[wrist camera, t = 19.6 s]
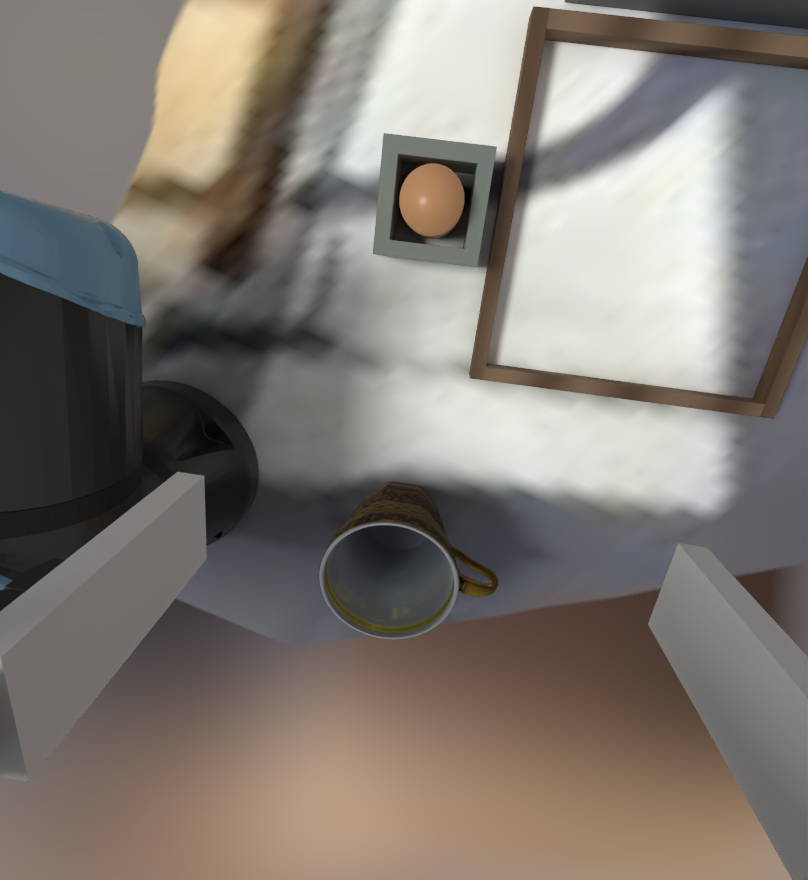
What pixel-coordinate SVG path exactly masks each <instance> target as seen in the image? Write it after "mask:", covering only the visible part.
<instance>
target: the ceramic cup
mask: <svg viewBox="0 0 808 880" xmlns="http://www.w3.org/2000/svg"><path fill="white" fill-rule="evenodd" d="M454 556H455V557H457V558H458V559H460V560H461V561H462V562H463V563H465V564H466V565H468V566H469V567H471V568H473V569H474V570H476V571H478V572H480V573H482V574H483V575H485V576H486V577H488V578H489V579H490V580H491V581H492V584H485V583H481V582H478V581H475V580H473V579H470V578H468V577H465V576H464V575H462V574H461V573H460V571H459V570H458V568H457V565H456V561H455V557H454ZM319 582H320V588H321V591H322V594H323V597H324V599H325V601H326V603H327V605H328V606H329V607H330V609H331V610H332V611H333V613H334V614H335V615H336V616H337V617H338V618H339V619H340V620H341V621H343V622H344V623H345V624H347V625H348V626H350V627H351V628H353V629H355V630H357V631H359V632H361V633H364V634H366V635H370V636H373V637H377V638H383V639H405V638H410V637H414V636H418V635H420V634H423V633H426V632H428V631H430V630H431V629H433V628H435V627H436V626H437V625H439V624H440V623H441V622H442V621H443V620H444V619H445V618H446V617H447V616H448V615H449V613H450V612H451V610H452V609H453V607H454V605H455V603H456V600H457V597H458V592H459V591H461V592H462V593H464V594H467V595H470V596H475V597H484V596H488V595H491V594H492V593H493V592H494V591H495V590H496V588H497V586H498V579H497V577H496V575H495V574H494V573H493V572H492V571H491V570H489V569H488V568H486V567H485V566H483V565H481V564H479V563H477V562H475V561H474V560H472V559H470V558H469V557H467V556H466V555H465V554H464V553H462V552H461V551H459V550H457V549H456V548H454V547H453V546H452V545H451V544H450V543H449V541H448V538H447V536H446V533H445V530H444V528H443V525H442V522H441V519H440V515H439V512H438V508H437V507H436V506H435V504H434V503H433V502H432V501H431V500H430V498H429V497H428V496H427V495H426V493H425V492H424V491H423V490H422V489H421V488H420V487H419V486H413V485H407V484H400V483H393V482H389V483H387V484H386V485H384V486H383V487H381V488H380V489H378V490H377V491H375V492H374V493H372V494H371V495H369V496H368V497H367V498H366V499H365V500H364V501H363V502H362V504H361V505H360V507H359V508H358V509H357V510H356V511H355V513H354V514H353V515H352V516H351V518H350V519H349V521H347V522H346V523H345V524H344V525H343V526H342V528H341V529H340V530H339V531H338V533H337V534H336V535H335V537H334V538H333V539H332V541H331V542H330V544H329V546H328V547H327V549H326V551H325V553H324V555H323V557H322V560H321V564H320V569H319Z"/></svg>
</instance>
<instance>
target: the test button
mask: <svg viewBox="0 0 808 880" xmlns="http://www.w3.org/2000/svg"><path fill="white" fill-rule="evenodd" d="M399 203H400V210H401V213H402V216H403V218H404V220H405V221H406V223H407V224H408V225H409V226H410V227H411V228H412V229H413V230H414V231H415V232H416V233H417V234H419V235H420V236H423V237H425V238H439V237H442V236H444V235H446V234H448V233H449V232H450V231H452V230H453V229H454V227H455V226H456V225H457V223H458V221H459V219H460V216H461V213H462V211H463V207H464V190H463V186H462V184H461V181H460V180H459V178H458V176H457V175H456V174H455V173H454V172H453V171H452V170H451V169H449V168H448V167H446V166H444V165H441V164H434V163H431V164H425V165H422V166H420V167H418V168H416V169H415V170H413V171H412V172H411V173H410V174H409V175H408V176H407V178H406V179H405V181H404V183H403V185H402V188H401V191H400V198H399Z"/></svg>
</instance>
